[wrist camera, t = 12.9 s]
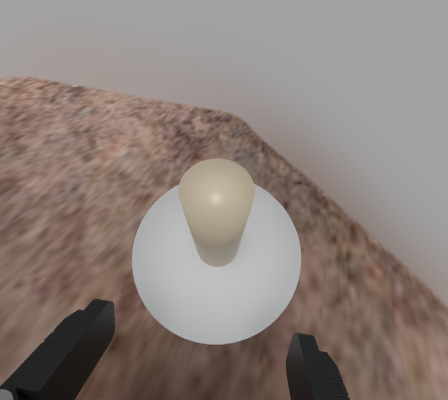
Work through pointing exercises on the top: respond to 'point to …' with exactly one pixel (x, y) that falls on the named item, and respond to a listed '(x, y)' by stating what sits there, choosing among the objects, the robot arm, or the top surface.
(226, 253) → the lid
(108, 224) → the top surface
